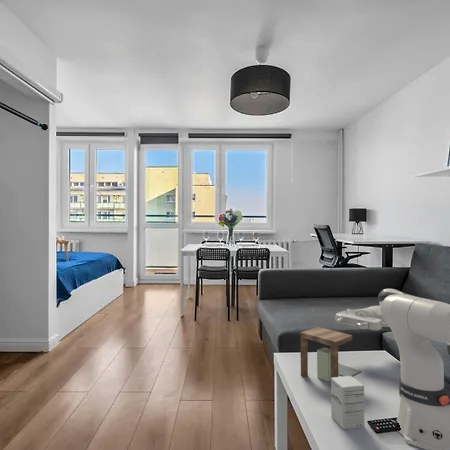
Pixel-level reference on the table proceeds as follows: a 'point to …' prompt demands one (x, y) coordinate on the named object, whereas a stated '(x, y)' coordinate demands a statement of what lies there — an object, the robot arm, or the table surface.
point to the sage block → (324, 364)
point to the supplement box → (347, 402)
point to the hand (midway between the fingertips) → (348, 324)
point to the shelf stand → (322, 337)
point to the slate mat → (347, 370)
